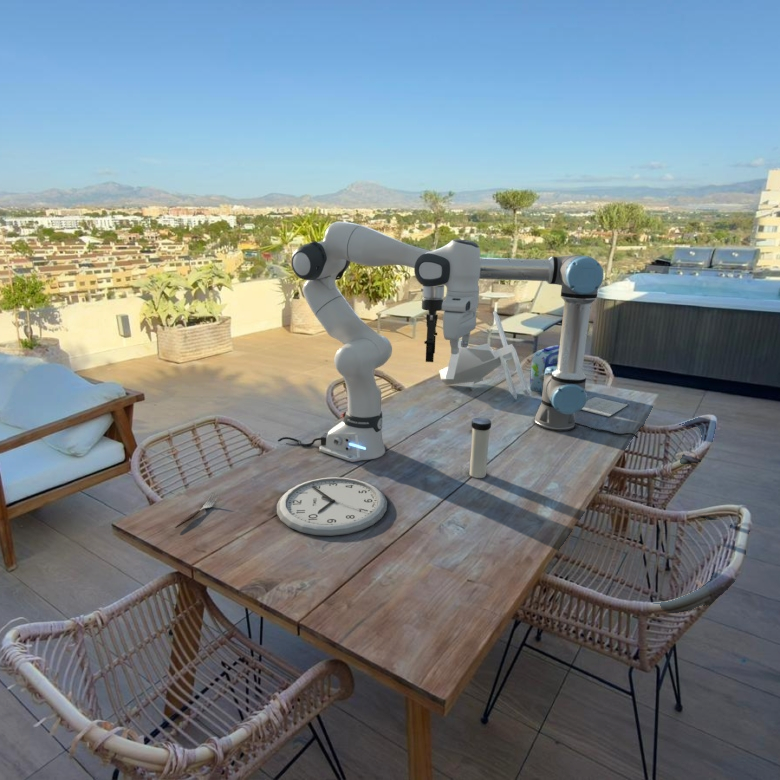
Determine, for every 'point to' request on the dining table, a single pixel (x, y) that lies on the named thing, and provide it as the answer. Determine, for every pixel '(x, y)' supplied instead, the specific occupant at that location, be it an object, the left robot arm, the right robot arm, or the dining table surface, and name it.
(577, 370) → the right robot arm
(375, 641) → the dining table surface
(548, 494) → the dining table surface
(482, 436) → the white tall cylinder
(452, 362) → the white plastic object
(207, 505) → the fork
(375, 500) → the wall clock
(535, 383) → the lunch box
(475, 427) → the lid
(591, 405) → the invitation card
